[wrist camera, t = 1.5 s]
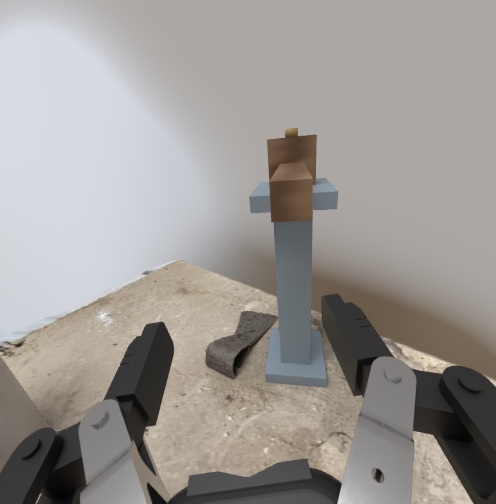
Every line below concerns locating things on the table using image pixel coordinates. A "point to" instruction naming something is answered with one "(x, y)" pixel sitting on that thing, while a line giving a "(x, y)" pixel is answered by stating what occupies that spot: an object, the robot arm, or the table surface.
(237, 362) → the axe head
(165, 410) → the table surface
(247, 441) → the table surface
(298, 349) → the stand
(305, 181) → the marking gauge
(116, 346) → the table surface
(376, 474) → the robot arm
